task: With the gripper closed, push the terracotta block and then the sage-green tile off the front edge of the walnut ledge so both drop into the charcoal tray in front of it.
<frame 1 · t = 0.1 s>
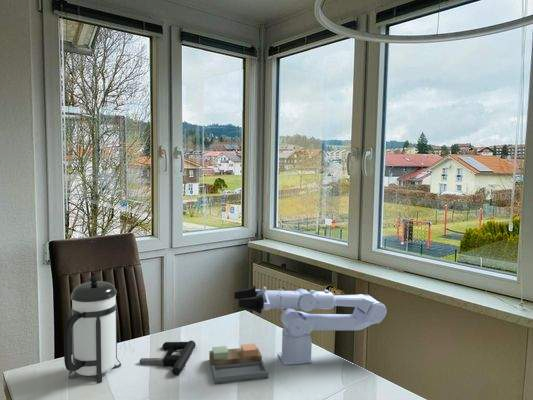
hand: (236, 298, 129), 22 cm above the table, tool horizontal, fingers open, 7 cm apart
walnut ledge: (235, 362, 133), on the table
coffee press: (93, 374, 124), on the table
door handle: (168, 361, 134), on the table
charcoal tray: (239, 374, 125), on the table
sage tile: (220, 355, 131), point 3 cm above the table, touching walnut ledge
terracotta block: (249, 352, 133), point 3 cm above the table, touching walnut ledge
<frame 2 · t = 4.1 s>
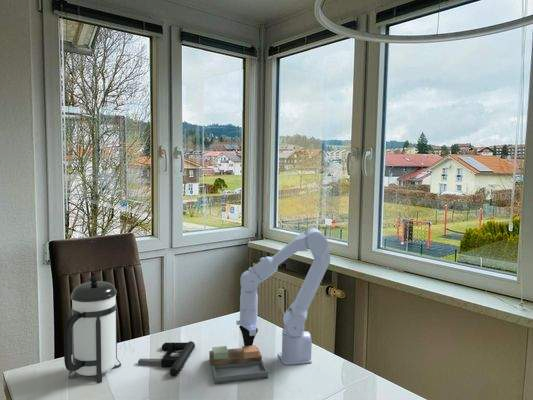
hand: (248, 348, 135), 4 cm above the table, tool pointing down, fingers closed
terracotta block: (250, 354, 132), point 3 cm above the table, touching gripper
everything else where it was.
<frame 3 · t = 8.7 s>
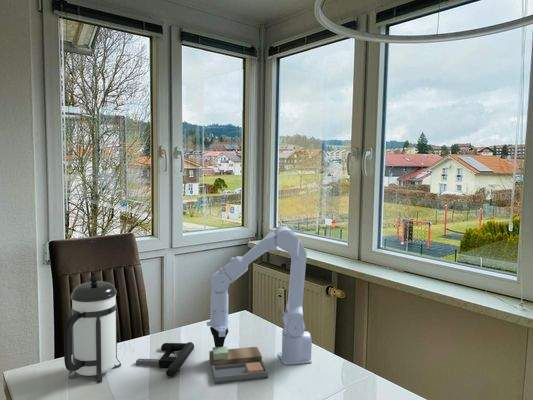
hand: (218, 349, 133), 4 cm above the table, tool pointing down, fingers closed
sage tile: (220, 355, 130), point 3 cm above the table, touching gripper
terracotta block: (254, 366, 125), point 3 cm above the table, tilted 180°, touching charcoal tray
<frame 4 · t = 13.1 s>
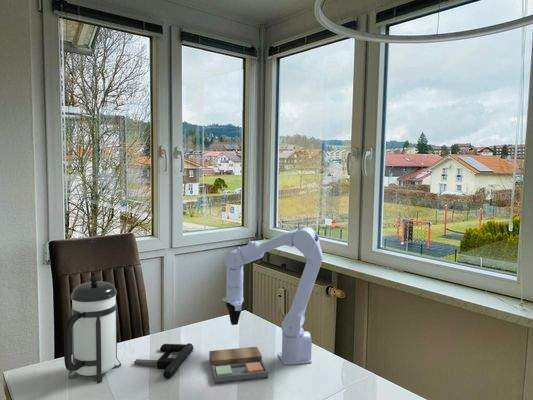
hand: (234, 324, 140), 9 cm above the table, tool pointing down, fingers closed
sage tile: (223, 369, 123), point 3 cm above the table, tilted 180°, touching charcoal tray
at the end: terracotta block inside the target area on the charcoal tray (4.5 cm from its centre), point 2.6 cm above the charcoal tray's base; sage tile inside the target area on the charcoal tray (5.1 cm from its centre), point 2.6 cm above the charcoal tray's base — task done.
